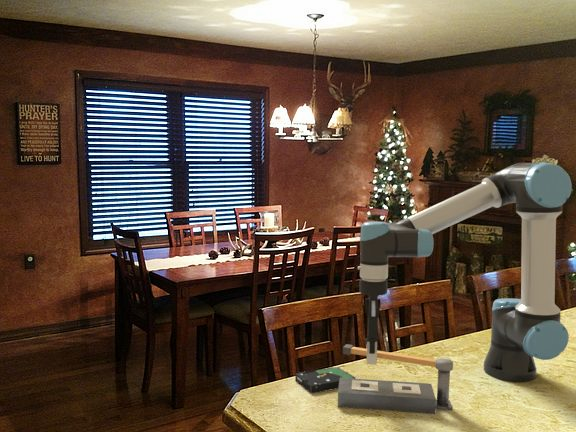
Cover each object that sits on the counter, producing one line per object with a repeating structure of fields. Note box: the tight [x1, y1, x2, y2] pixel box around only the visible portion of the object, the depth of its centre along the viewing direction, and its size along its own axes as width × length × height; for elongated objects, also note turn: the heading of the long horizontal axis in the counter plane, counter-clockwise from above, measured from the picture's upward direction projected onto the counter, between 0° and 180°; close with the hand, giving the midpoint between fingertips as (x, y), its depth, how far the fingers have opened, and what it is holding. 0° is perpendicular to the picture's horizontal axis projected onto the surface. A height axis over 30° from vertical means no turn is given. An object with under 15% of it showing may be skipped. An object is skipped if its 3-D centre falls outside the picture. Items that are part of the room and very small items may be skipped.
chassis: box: [337, 378, 437, 415], centre depth 147 cm, size 25×10×4 cm, turn 82°
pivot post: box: [435, 369, 453, 411], centre depth 145 cm, size 4×4×10 cm
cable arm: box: [342, 343, 454, 372], centre depth 149 cm, size 30×4×2 cm, turn 66°
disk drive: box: [294, 366, 357, 394], centre depth 160 cm, size 10×3×15 cm
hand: (371, 363), depth 150 cm, fingers closed
